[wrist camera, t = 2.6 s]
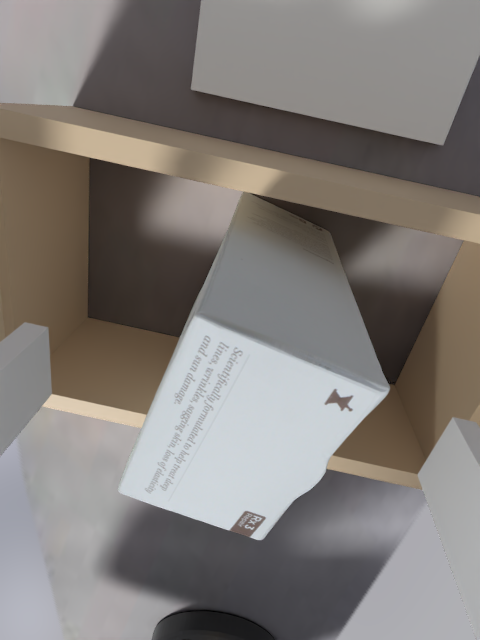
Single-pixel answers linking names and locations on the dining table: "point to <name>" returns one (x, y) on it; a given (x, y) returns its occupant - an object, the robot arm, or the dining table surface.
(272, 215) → the skincare box
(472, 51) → the pad
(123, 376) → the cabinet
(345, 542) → the dining table surface
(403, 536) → the dining table surface
